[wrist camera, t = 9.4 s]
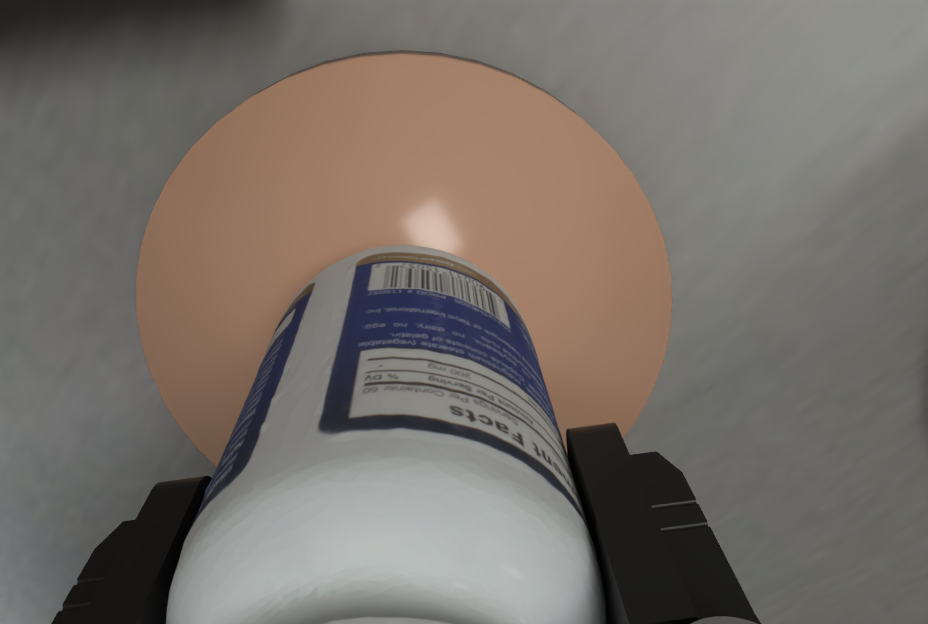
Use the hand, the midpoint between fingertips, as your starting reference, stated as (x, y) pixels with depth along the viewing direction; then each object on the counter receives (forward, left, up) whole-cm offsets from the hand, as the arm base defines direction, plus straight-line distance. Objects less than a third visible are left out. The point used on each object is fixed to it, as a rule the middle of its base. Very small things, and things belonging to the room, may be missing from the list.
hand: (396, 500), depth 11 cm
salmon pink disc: (0, 0, -7) cm, 7 cm away
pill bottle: (0, 0, -5) cm, 5 cm away
